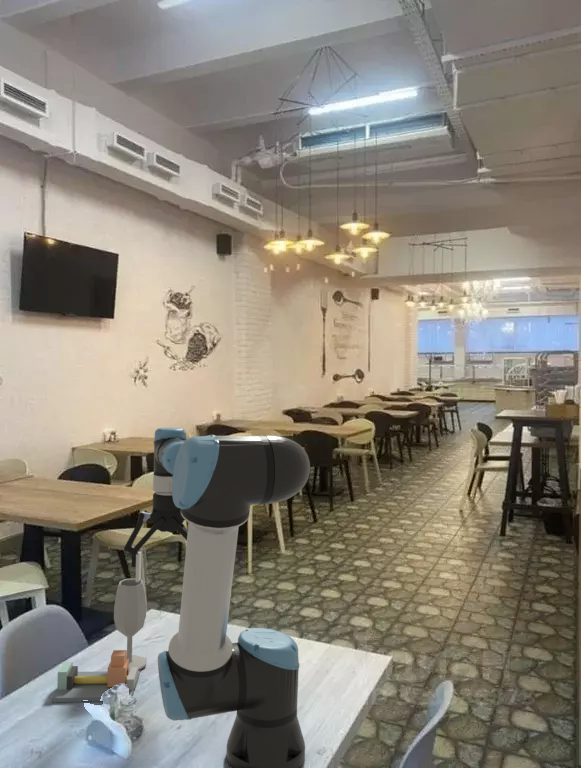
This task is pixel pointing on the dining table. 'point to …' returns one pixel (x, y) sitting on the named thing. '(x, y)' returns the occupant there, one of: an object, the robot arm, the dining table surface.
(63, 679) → the linear slide rail
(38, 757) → the dining table surface
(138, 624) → the wineglass
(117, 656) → the sleeve
